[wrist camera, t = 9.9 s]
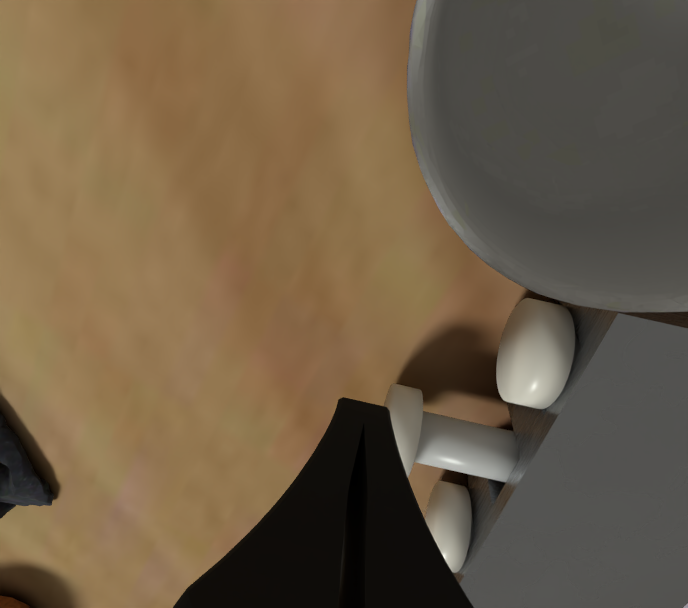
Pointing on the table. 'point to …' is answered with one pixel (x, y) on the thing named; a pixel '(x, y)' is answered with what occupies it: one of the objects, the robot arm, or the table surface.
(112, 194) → the table surface
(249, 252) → the table surface
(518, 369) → the knob
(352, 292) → the table surface
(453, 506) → the knob
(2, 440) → the black cloth
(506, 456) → the knob middle
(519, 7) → the teacup
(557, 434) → the rack
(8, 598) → the potato
